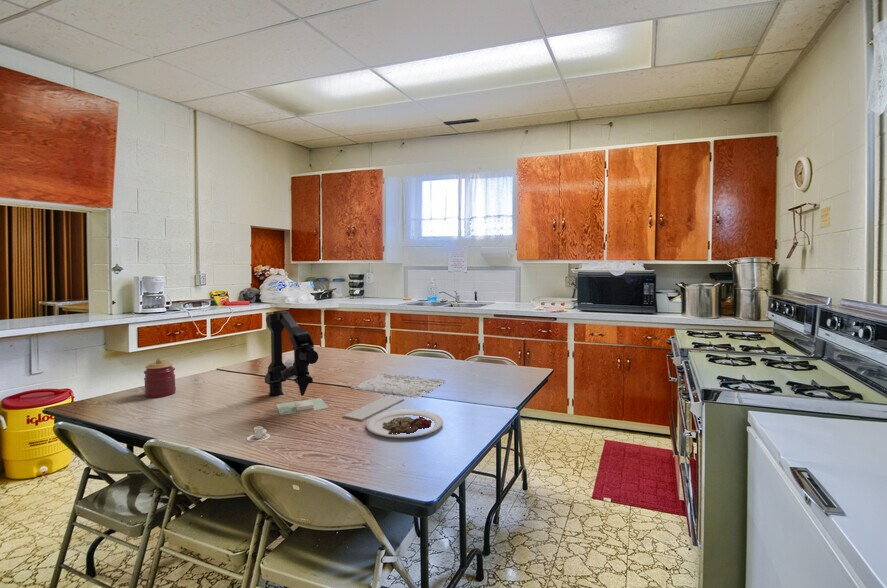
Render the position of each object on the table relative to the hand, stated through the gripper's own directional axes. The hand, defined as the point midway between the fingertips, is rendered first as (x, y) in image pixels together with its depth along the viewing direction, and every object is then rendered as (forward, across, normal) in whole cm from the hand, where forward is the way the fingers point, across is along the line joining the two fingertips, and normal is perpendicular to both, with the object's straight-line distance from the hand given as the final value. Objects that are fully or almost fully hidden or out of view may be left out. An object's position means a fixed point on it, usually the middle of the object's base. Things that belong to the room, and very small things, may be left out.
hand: (302, 395), depth 201 cm
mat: (+6, -1, 0) cm, 6 cm away
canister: (+6, -54, -58) cm, 79 cm away
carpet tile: (+6, -14, +51) cm, 53 cm away
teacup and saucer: (+6, +27, -17) cm, 32 cm away
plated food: (+6, +41, +32) cm, 52 cm away
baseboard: (+6, +14, +28) cm, 32 cm away
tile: (+4, -1, 0) cm, 4 cm away
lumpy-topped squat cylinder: (+6, -61, +6) cm, 62 cm away
